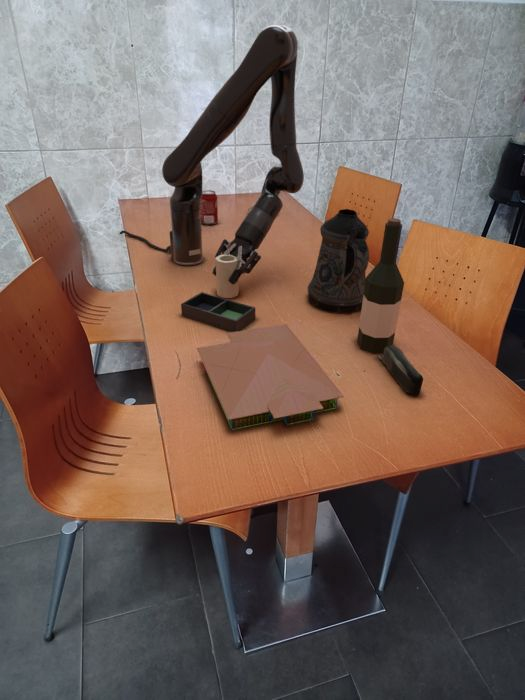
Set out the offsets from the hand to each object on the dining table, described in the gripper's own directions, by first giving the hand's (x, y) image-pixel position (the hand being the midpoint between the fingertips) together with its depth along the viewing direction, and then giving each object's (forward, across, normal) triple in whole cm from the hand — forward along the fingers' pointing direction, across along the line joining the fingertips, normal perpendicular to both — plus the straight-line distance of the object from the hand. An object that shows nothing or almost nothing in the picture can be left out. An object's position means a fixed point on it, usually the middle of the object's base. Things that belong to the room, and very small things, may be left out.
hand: (222, 278), depth 137 cm
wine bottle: (-3, +45, +10) cm, 46 cm away
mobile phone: (+2, +56, +5) cm, 56 cm away
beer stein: (-12, +25, +19) cm, 33 cm away
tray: (+10, +9, -3) cm, 14 cm away
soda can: (-23, -54, +31) cm, 67 cm away
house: (+18, +38, -11) cm, 43 cm away
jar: (+2, 0, +5) cm, 5 cm away
